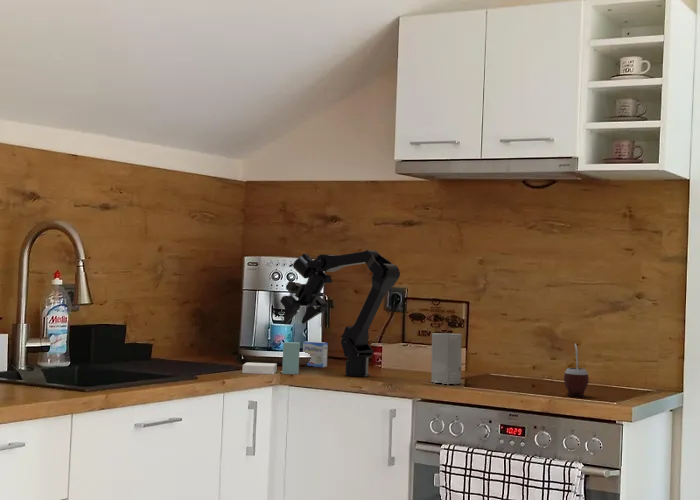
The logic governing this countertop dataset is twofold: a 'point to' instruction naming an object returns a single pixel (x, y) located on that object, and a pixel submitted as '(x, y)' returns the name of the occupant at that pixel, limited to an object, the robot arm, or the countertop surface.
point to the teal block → (291, 358)
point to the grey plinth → (259, 368)
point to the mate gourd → (576, 379)
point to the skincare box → (446, 358)
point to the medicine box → (316, 353)
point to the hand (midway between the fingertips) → (293, 323)
